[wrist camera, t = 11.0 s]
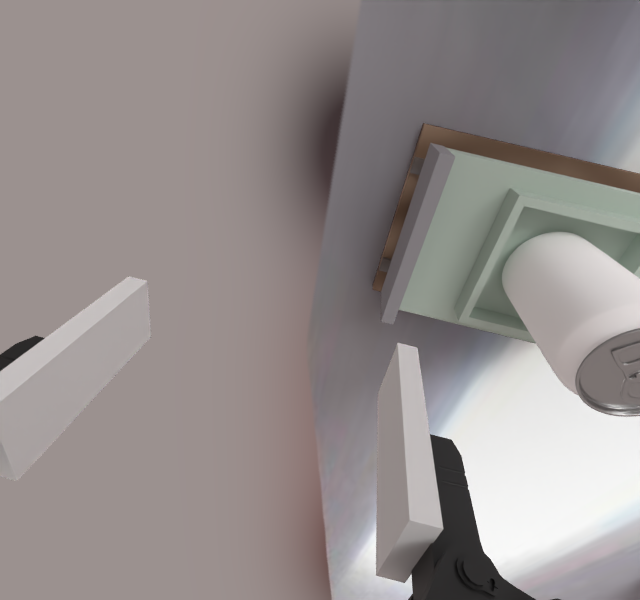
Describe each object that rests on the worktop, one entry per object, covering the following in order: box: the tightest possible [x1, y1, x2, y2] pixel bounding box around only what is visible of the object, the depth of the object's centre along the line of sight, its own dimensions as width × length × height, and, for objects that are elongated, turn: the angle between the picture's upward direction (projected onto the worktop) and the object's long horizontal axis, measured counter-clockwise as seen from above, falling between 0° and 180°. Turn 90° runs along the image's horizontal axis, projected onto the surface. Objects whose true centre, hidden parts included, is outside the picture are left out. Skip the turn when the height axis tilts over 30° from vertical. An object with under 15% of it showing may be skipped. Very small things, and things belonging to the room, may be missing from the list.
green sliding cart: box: [381, 143, 640, 343], centre depth 28 cm, size 13×18×6 cm
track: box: [373, 123, 640, 292], centre depth 31 cm, size 15×41×3 cm, turn 79°
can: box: [502, 232, 640, 416], centre depth 23 cm, size 6×6×12 cm
